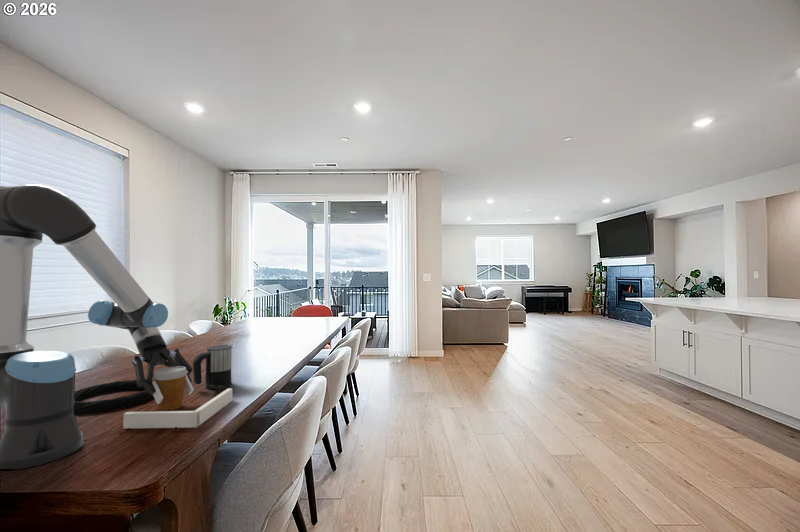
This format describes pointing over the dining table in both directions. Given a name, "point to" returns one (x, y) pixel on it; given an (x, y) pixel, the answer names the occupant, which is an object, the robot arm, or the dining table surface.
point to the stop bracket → (177, 415)
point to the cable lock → (110, 403)
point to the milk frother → (214, 367)
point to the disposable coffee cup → (171, 386)
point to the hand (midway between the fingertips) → (176, 396)
